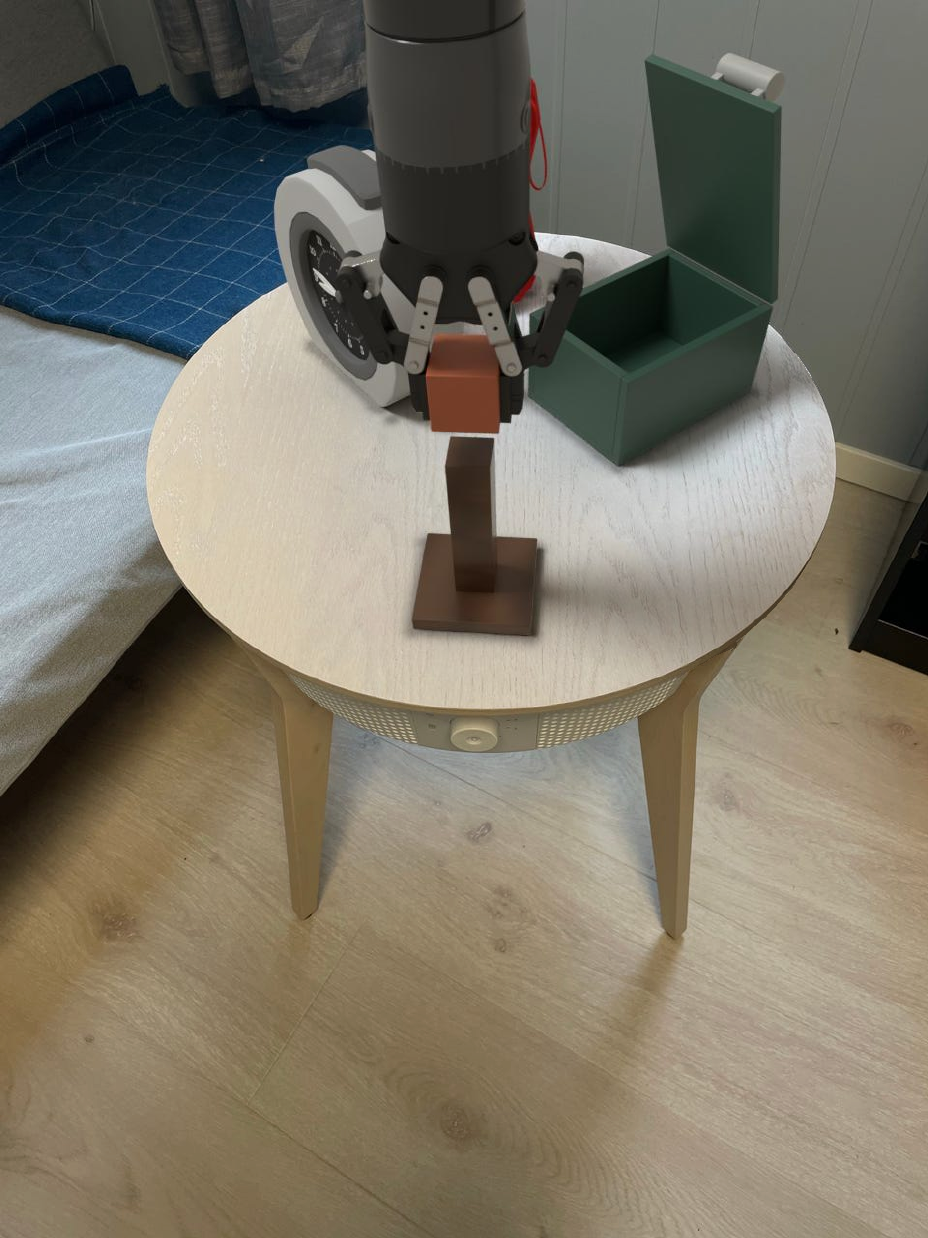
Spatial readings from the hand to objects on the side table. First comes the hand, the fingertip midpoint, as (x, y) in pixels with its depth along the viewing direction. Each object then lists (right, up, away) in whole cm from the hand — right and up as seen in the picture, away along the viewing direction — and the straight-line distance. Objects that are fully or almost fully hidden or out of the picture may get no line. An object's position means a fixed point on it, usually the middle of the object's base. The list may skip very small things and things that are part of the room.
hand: (468, 412), depth 54 cm
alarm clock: (-9, +13, +33) cm, 36 cm away
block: (0, 0, 0) cm, 0 cm away
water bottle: (+3, +23, +39) cm, 46 cm away
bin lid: (+20, +22, +15) cm, 33 cm away
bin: (+16, +8, +27) cm, 33 cm away
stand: (+1, -11, +14) cm, 17 cm away
